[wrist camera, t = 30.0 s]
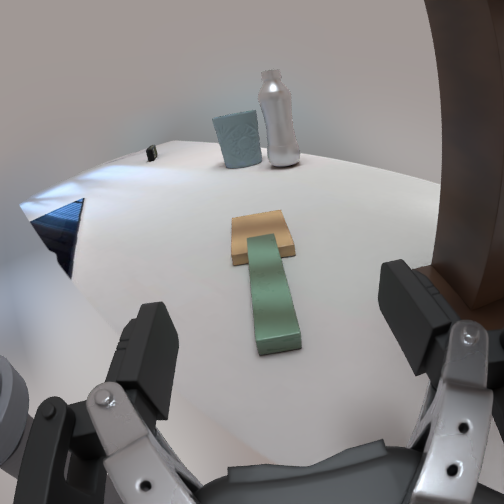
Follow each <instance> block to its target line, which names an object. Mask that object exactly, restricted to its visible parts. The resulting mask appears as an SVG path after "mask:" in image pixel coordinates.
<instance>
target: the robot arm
mask: <svg viewBox="0 0 504 504" xmlns="http://www.w3.org/2000/svg"><path fill="white" fill-rule="evenodd" d="M378 303H379V307H380V310H381V312H382V314H383V316H384V318H385V319H386V321H387V323H388V325H389V327H390V328H391V330H392V332H393V334H394V336H395V338H396V339H397V341H398V343H399V345H400V347H401V349H402V351H403V353H404V355H405V357H406V358H407V360H408V362H409V364H410V366H411V368H412V370H413V372H414V374H415V376H418V375H421V374H423V373H427V375H428V377H429V379H430V380H429V383H428V386H427V390H426V394H425V397H424V401H423V405H422V408H421V411H420V415H419V418H418V421H417V424H416V427H415V429H414V431H413V433H412V435H411V437H410V440H409V442H408V444H407V446H406V448H405V447H394V446H388V447H385V443H384V440H383V439H381V440H377V441H374V442H371V443H367V444H364V445H360V446H357V447H353V448H349V449H346V450H344V451H342V452H340V453H338V454H336V455H334V456H332V457H330V458H327V459H325V460H323V461H321V462H319V463H316V464H314V465H312V466H308V467H299V466H284V465H273V464H261V465H250V466H236V467H228V475H227V476H223V477H221V478H218V479H215V480H213V481H211V482H209V483H207V484H206V485H204V486H203V485H202V484H201V483H200V482H199V481H198V480H197V478H196V477H195V476H194V475H193V474H192V473H191V472H190V471H189V470H188V469H187V468H186V467H185V465H184V464H183V463H182V462H181V460H180V459H179V458H178V457H177V455H176V454H175V452H174V451H173V450H172V448H171V447H170V446H169V444H168V443H167V441H166V440H165V438H164V437H163V436H162V434H161V433H160V431H159V430H158V429H157V428H156V420H168V413H169V406H170V398H171V392H172V386H173V379H174V373H175V367H176V360H177V354H178V348H179V340H178V334H177V331H176V329H175V327H174V325H173V322H172V320H171V318H170V316H169V313H168V311H167V309H166V306H165V305H164V303H163V302H154V303H147V304H142V305H141V307H140V310H139V313H138V315H137V318H136V319H131V321H130V322H129V323H128V324H127V325H126V327H125V328H124V329H123V332H122V334H121V337H120V342H119V343H118V345H117V348H116V349H117V351H115V353H114V356H113V359H112V362H111V365H110V368H109V371H108V374H107V377H106V380H105V382H104V383H101V384H99V385H97V386H96V387H95V388H94V389H93V390H92V391H91V392H90V394H89V395H88V397H87V400H85V401H82V402H78V403H74V404H70V405H67V404H66V403H65V401H64V400H63V399H61V398H60V397H55V396H54V397H50V398H48V399H46V400H44V401H43V402H42V403H41V404H40V406H39V407H38V409H37V412H36V415H35V418H34V421H33V424H32V427H31V430H30V434H29V437H28V440H27V444H26V448H25V451H24V455H23V459H22V463H21V467H20V471H19V476H18V481H17V486H16V491H15V496H14V502H13V504H104V493H105V483H106V475H107V473H108V475H109V477H110V479H111V481H112V483H113V485H114V487H115V488H116V490H117V492H118V494H119V496H120V497H121V499H122V501H123V503H124V504H504V494H502V493H500V492H498V491H495V490H493V489H491V488H489V487H487V486H485V485H482V484H480V483H478V479H479V475H480V471H481V467H482V463H483V459H484V454H485V450H486V445H487V439H488V434H489V428H490V421H491V414H492V416H493V418H494V420H495V423H496V425H497V427H498V430H499V432H500V435H501V437H502V440H503V442H504V327H503V329H497V330H485V328H484V327H483V326H482V325H480V324H479V323H477V322H475V321H472V320H462V319H461V318H460V317H459V315H458V314H457V313H456V312H455V310H454V309H453V308H452V306H451V305H450V304H449V303H448V301H447V300H446V299H445V298H444V296H443V295H442V294H440V291H439V290H438V289H437V288H436V287H434V284H433V283H432V282H431V281H430V279H429V278H428V277H427V276H426V275H424V274H422V273H421V272H419V271H417V270H411V269H410V267H409V266H408V265H407V264H406V263H405V262H404V260H402V259H399V260H395V261H390V262H385V263H383V264H382V266H381V273H380V283H379V292H378ZM1 389H2V376H1V372H0V394H1ZM68 451H70V452H71V458H70V463H69V469H68V474H67V480H65V478H64V468H65V463H66V458H67V453H68Z"/></svg>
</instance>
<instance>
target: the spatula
mask: <svg viewBox="0 0 504 504" xmlns="http://www.w3.org/2000/svg"><path fill="white" fill-rule="evenodd" d="M293 255H295V246H294V242H293V240H292V237H291V235H290V232H289V229H288V227H287V224H286V222H285V219H284V217H283V214H282V212H281V210H276V211H270V212H264V213H258V214H253V215H247V216H241V217H236V218H232V237H231V256H232V261H233V265H234V266H235V265H241V264H246V263H249V272H250V283H251V295H252V306H253V317H254V328H255V339H256V344H257V348H258V353H259V355H264V354H271V353H277V352H283V351H288V350H294V349H299V348H301V347H302V344H301V332H300V328H299V325H298V321H297V317H296V313H295V309H294V305H293V301H292V298H291V294H290V290H289V286H288V283H287V279H286V275H285V271H284V268H283V264H282V260H281V257H287V256H293Z"/></svg>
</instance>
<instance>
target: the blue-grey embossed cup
mask: <svg viewBox="0 0 504 504" xmlns="http://www.w3.org/2000/svg"><path fill="white" fill-rule="evenodd" d="M212 121H213V124H214V128H215V130H216V133H217V137H218V141H219V144H220V147H221V151H222V154H223V158H224V162H225V165H226V167H227V168H242V167H248V166H252V165H255V164H258V163H260V162H261V161H262V155H261V148H260V143H259V140H260V139H259V135H258V134H259V133H258V121H257V114H256V110H252V111H246V112H240V113H234V114H230V115H225V116H220V117H216V118H213V119H212Z"/></svg>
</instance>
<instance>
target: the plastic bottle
mask: <svg viewBox="0 0 504 504" xmlns="http://www.w3.org/2000/svg"><path fill="white" fill-rule="evenodd" d="M261 74H262V81H264V84H263V86H262V87H261V89H260V91H259V94H258V100H259V103H260V107H261V110H262V113H263V116H264V120H265V123H266V129H267V140H268V147H267V153H268V158H269V161H270V163H271V164H272V165H273V166H289V165H293V164H296V163H297V162H298V161H299V159H300V150H299V146H298V143H297V142H296V137H295V133H294V129H293V122H292V112H291V93H290V91H289V89H288V88H287V87H286V86H285V85H284V84H283V83H282V82H281V80H280V78H281V75H280V70H268V71H263V72H261Z"/></svg>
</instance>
